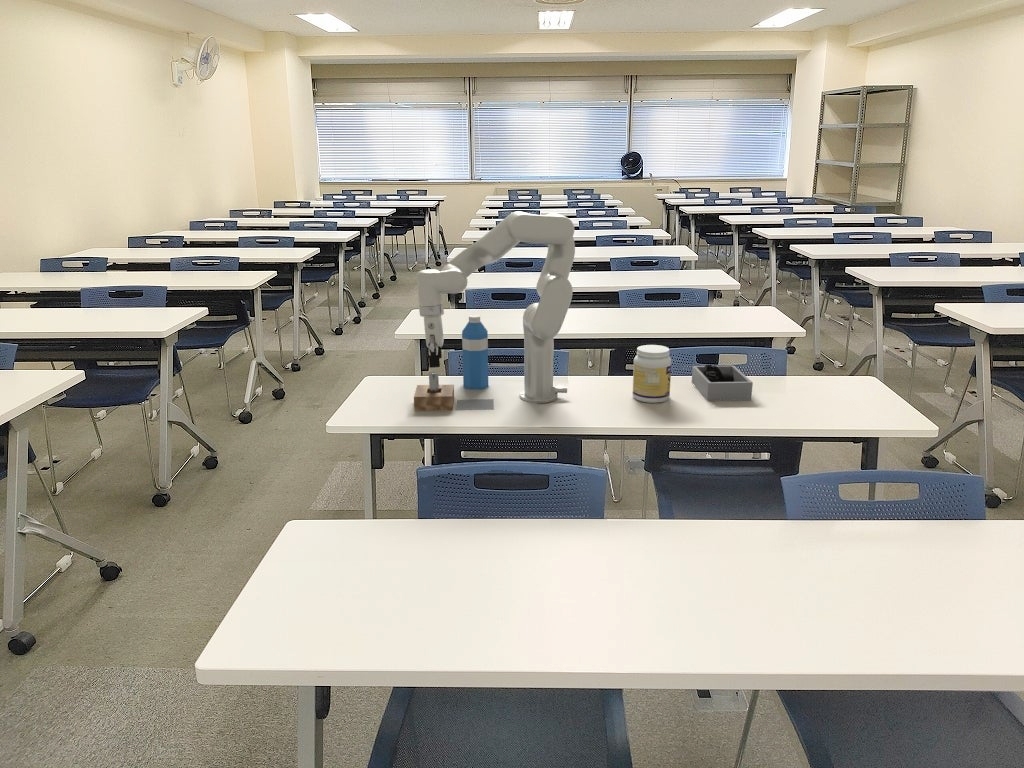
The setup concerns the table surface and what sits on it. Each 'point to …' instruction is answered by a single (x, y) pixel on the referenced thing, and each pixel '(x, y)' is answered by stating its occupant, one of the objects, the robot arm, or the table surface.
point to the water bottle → (475, 354)
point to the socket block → (433, 398)
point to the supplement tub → (652, 374)
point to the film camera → (716, 374)
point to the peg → (433, 382)
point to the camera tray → (723, 385)
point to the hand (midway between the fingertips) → (435, 362)
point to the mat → (475, 404)
